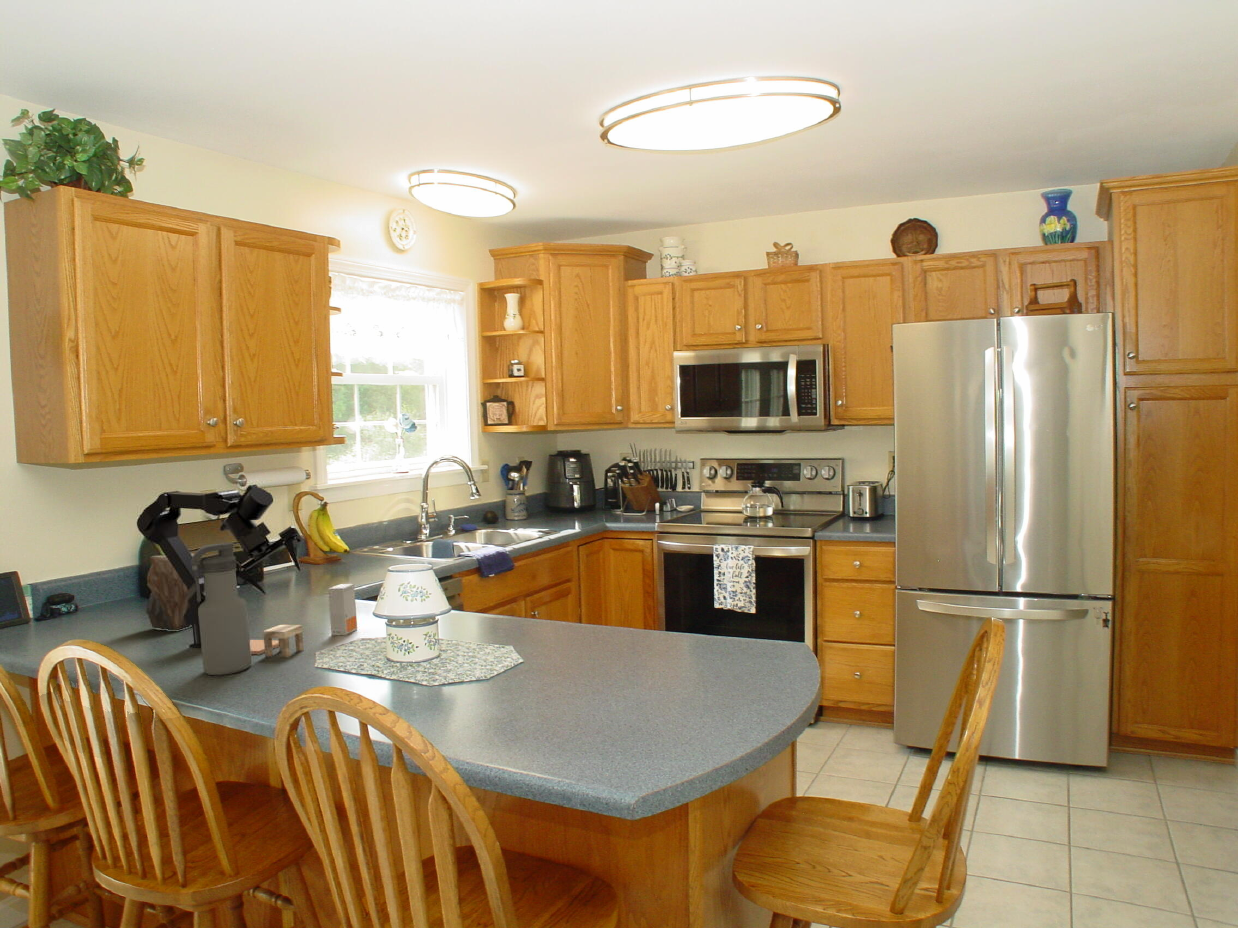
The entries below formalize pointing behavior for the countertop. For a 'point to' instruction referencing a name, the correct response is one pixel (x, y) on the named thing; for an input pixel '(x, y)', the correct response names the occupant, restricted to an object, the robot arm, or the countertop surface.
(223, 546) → the water bottle
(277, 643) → the trivet
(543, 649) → the countertop surface
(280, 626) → the birch stool
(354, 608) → the skincare box
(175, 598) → the tree stump
